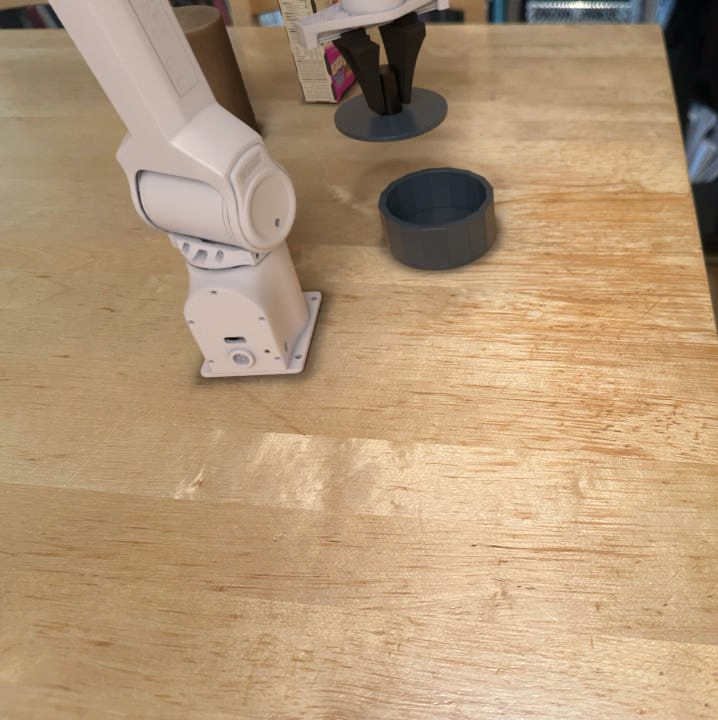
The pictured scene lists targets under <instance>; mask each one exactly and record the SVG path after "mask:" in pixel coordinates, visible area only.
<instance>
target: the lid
mask: <svg viewBox="0 0 718 720" xmlns="http://www.w3.org/2000/svg"><path fill="white" fill-rule="evenodd" d="M379 67H380V81H381V87H382V92H383V97H384V104H385V112H384V113H381V114H377V113H375V112H374V111H372V110H371V109H369V107H368V104H367V102H366V99H365V96H364V94H363V92H361V93H360V94H358V95H355V96H353V97H351V98H349V99H348V100H346V101H345V102H343V103H342V104H341V105H340V106H339V107H338V108H337V109H336V110H335V112H334V116H333V122H334V126H335V128H336V129H337V131H338V132H339V133H340V134H341V135H343V136H345V137H347V138H350V139H353V140H356V141H359V142H360V141H361V142H366V143H391V142H398V141H404V140H409V139H413V138H417V137H419V136H421V135H425V134H427V133H429V132H430V131H433V130H434V129H436V128H437V127H439V126H440V125H441V124H442V123H443V122H444V121H446V118H447V117H448V114H449V107H448V105H449V104H448V101H447V100H446V98H445V96H443V95H442V94H440V93H438V92H436V91H434V90H431V89H428V88H423V87H418V86H412V93H411V103H409V104H406V105H405V104H403V103H402V99H401V92H400V85H399V79H398V72H397V67H396V66H395V65H392V64H388V63H383V64H379Z"/></svg>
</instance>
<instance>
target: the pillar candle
mask: <svg viewBox="0 0 718 720" xmlns="http://www.w3.org/2000/svg"><path fill="white" fill-rule="evenodd" d="M171 7H172V10H173V12H174V14H175V16H176V18H177V20H178V22H179V24H180V26H181V28H182V30H183V32H184V34H185V37H186V39H187V41H188V43H189V45H190V47H191V49H192V51H193V53H194V55H195V57H196V59H197V61H198V64H199V66H200V68H201V70H202V72H203V74H204V76H205V78H206V80H207V82H208V84H209V86H210V89H211V91H212V93H213V95H214V97H215V99H216V101H217V102H218V103H219V104H220V105H221V106H222V107H223V108H225V109H226V110H227V111H229V112H230V113H231V114H233V115H234V116H235V117H237V118H238V119H240V120H241V121H242V122H244V123H245V124H246V125H248V126H249V127H250V128H252V129H253V130H254V131H256V132H257V133H258V134H259V135H260V136H261V130H259V129H260V128H259V125H258V122H257V119H256V114H255V112H254V109H253V107H252V103H251V101H250V97H249V95H248V91H247V88H246V86H245V82H244V79H243V75H242V72H241V68H240V67H239V63H238V60H237V57H236V54H235V51H234V48H233V45H232V41H231V38H230V35H229V33H228V29H227V26H226V24H225V19H224V16H223V14H222V12H221V11H220V8H219V9H218V8H217V7H214V6H211V5H199V4H196V5H194V4H193V5H184V6H183V5H182V6H176V7H174V6H171Z"/></svg>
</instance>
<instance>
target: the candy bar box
mask: <svg viewBox="0 0 718 720" xmlns="http://www.w3.org/2000/svg"><path fill="white" fill-rule="evenodd" d="M276 1H277V4H278V8H279V12H280V16H281V19H282V22H283V26H284V29H285V32H286V37H287V40H288V44H289V48H290V52H291V56H292V59H293V62H294V67H295V70H296V74H297V77H298V80H299V81H298V82H299V84H300V89H301V92H302V95H303V96H302V97H303V99H304V101H305V103H310V104H312V103H313V104H317V103H319V104H337V103H339V102H340V101H341V99H343V97H344V96H345V94H346V93H347V92H348V90H349V89H350V88H351V87H352V85H353V84H354V82H355V81H357V79H356V77H355V76H354V74H353V72H352V70H351V69H350V67H349V65H348V64H347V62H346V61H345V59H344V58H343V57H342V55H341V54H340V52H339V51H338V50H337V48H336V47H335V46H334V44H333V43H332V41H329V42H325V43H322V44H319V47H318V48H316V49H313V50H307V49H305V48H303V47H302V46H301V45H299V42H298V38H297V34H296V30H295V26H294V21H296V20H299V19H302V18H305V17H308V16H310V15H313V14H315V13H317V12H319V11H321V10H324V9H326V8H328V7H330V6H332V5H334V4H337V3H339V2H340V0H276Z"/></svg>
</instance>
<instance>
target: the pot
mask: <svg viewBox="0 0 718 720" xmlns="http://www.w3.org/2000/svg"><path fill="white" fill-rule="evenodd" d="M377 208H378V212H379V218H380V223H381V227H382V233H383V238H384V243H385V245H386V247H387V251H388V252H389V254H390V255H391V256H392V258H393V259H394V260H396V261H397V262H399V263H400V264H402V265H404V266H407V267H409V268H413V269H416V270H423V271H445V270H453V269H456V268H460V267H463V266H467V265H469V264H471V263H473V262H475V261H477V260H479V259H481V258H482V257H483V256H485V254H487V253H488V252H489V250H491V248H492V247H493V245H494V243H495V240H496V236H497V235H496V214H495V211H496V210H495V192H494V186H493V185H492V184H491V183H490V182H489V181H488V180H487V178H486V177H485V176H483V175H481V174H478V173H476V172H474V171H471V170H469V169H463V168H457V167H451V166H445V167H442V166H441V167H428V168H424V169H420V170H416V171H412V172H409V173H406V174H404V175H403V176H401V177H399V178H396V179H395V180H392V181H391V182H390V183H389V184H388V185H387V186H386V187H385V188H384V189H383V190H382V192H380V193H379V198H378V205H377Z"/></svg>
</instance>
